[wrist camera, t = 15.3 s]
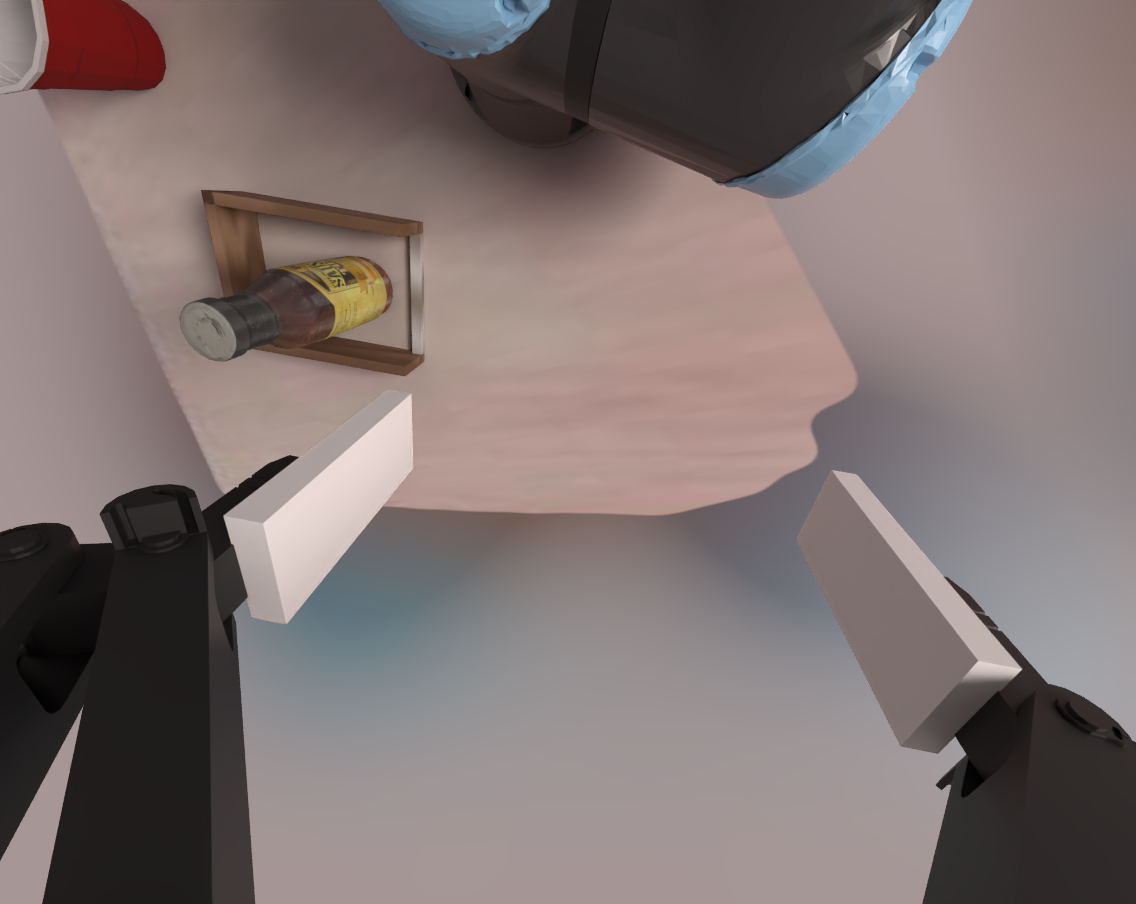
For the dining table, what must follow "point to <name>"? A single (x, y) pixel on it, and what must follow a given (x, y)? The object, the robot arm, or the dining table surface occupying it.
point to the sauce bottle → (289, 308)
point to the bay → (245, 264)
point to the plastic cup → (77, 46)
